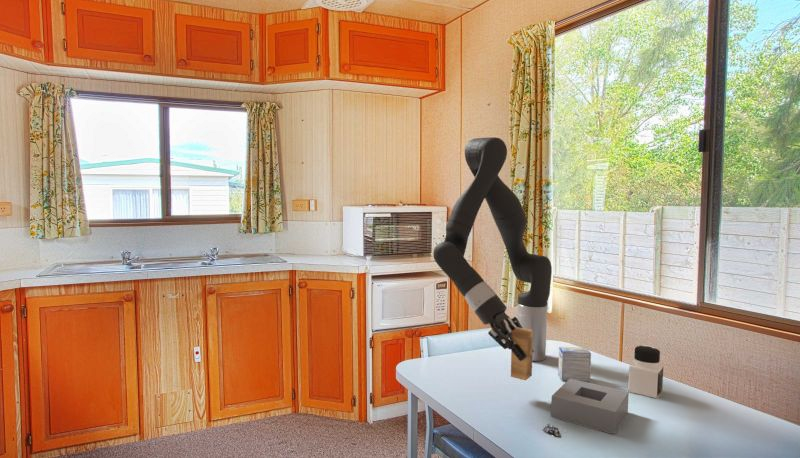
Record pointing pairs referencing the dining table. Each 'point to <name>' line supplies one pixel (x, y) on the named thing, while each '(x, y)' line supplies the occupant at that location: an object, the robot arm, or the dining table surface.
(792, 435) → the dining table surface
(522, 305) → the robot arm
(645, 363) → the medicine bottle
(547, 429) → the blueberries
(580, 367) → the medicine box
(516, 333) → the wooden peg
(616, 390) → the socket block
